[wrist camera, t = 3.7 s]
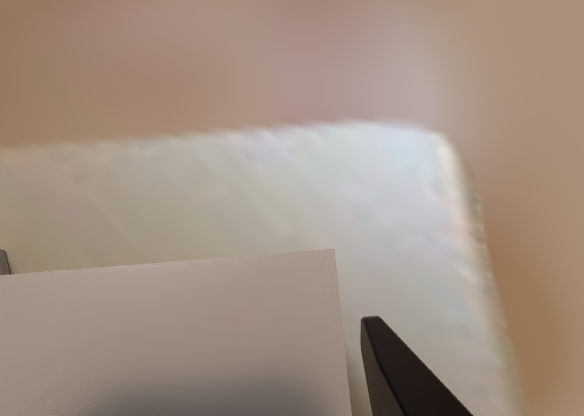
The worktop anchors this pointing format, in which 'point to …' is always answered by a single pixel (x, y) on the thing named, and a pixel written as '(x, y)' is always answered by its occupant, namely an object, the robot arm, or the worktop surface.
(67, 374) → the aluminium post
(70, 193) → the worktop surface
